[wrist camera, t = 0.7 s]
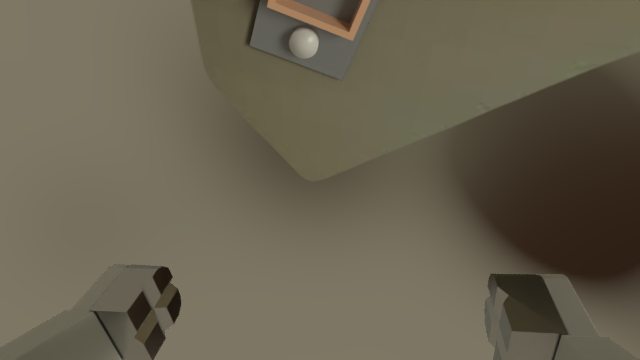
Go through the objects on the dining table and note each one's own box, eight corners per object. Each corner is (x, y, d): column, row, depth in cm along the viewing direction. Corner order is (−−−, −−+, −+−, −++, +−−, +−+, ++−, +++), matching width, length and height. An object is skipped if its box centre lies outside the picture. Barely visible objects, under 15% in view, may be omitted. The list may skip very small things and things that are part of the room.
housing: (288, -119, 38) (283, -114, 36) (406, -66, 40) (408, -57, 38) (250, 42, 51) (244, 54, 48) (342, 77, 53) (341, 90, 50)
